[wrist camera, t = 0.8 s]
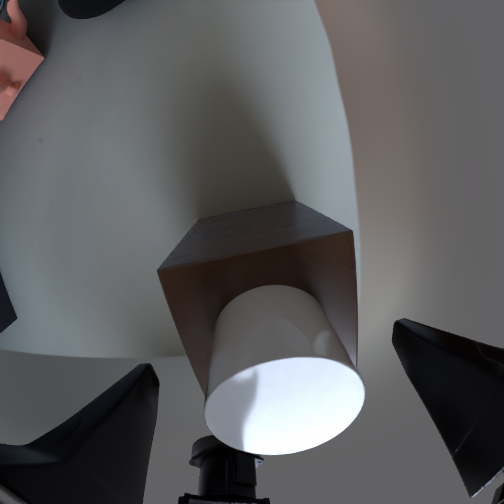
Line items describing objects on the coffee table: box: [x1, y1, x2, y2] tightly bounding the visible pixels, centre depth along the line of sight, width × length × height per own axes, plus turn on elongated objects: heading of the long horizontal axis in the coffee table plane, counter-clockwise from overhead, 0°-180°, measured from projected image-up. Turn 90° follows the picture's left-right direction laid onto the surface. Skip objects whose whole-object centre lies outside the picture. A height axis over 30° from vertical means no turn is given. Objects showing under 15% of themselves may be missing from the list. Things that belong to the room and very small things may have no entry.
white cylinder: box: [204, 285, 365, 455], centre depth 8 cm, size 4×4×4 cm
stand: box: [157, 201, 358, 395], centre depth 15 cm, size 7×7×10 cm
